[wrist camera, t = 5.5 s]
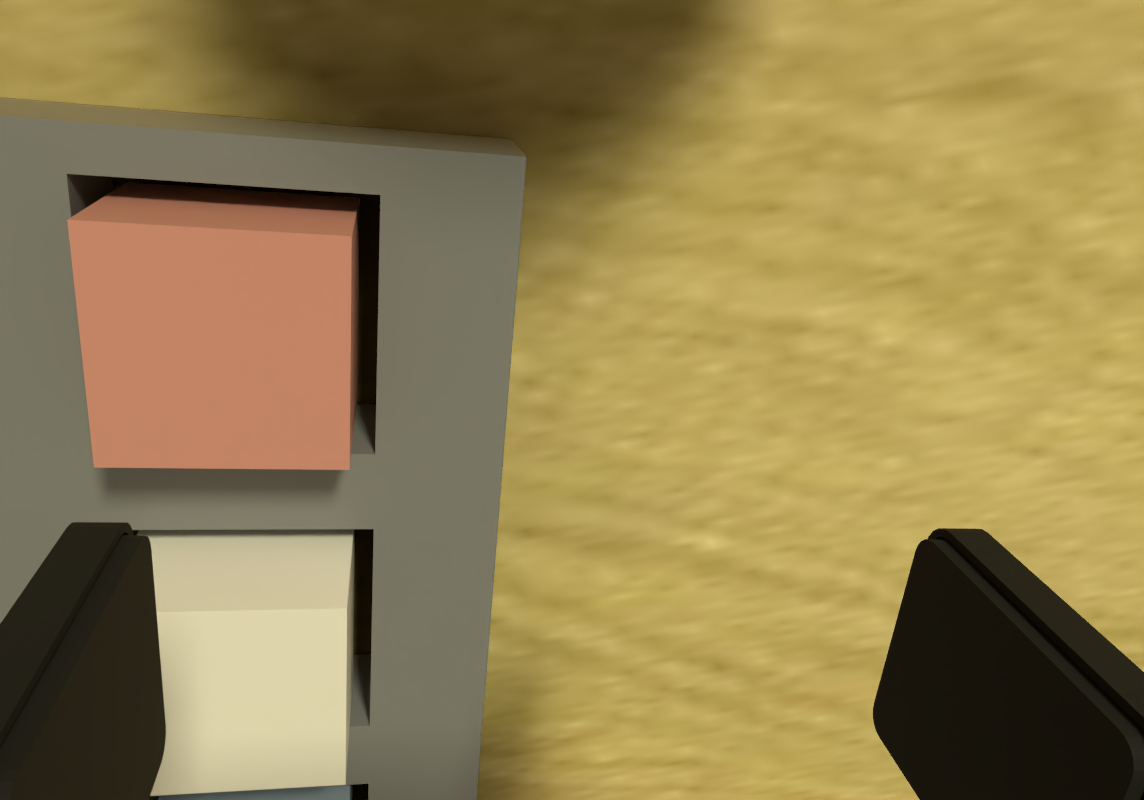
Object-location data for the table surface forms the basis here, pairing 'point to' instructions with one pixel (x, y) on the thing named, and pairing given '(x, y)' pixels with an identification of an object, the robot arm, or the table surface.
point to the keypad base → (381, 431)
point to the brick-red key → (218, 327)
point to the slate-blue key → (273, 794)
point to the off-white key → (254, 657)
